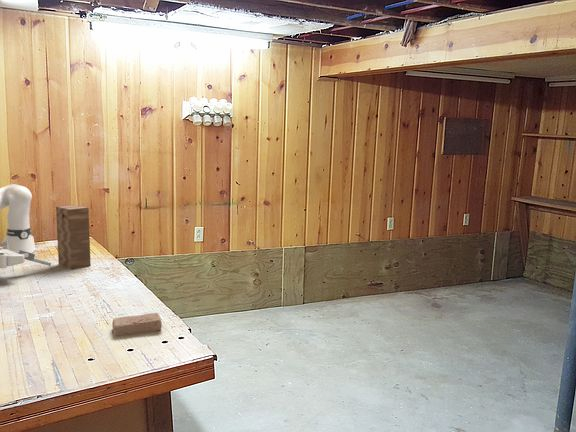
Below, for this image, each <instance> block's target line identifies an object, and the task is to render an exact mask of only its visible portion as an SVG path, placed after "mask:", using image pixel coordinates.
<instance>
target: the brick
mask: <svg viewBox="0 0 576 432" xmlns="http://www.w3.org/2000/svg"><path fill="white" fill-rule="evenodd" d="M111 325H112V333H113V334H112V335H113V337H120V336H127V335H135V334H145V333H153V332H157V331H159V330H161V329H162V326H163V325H162V319H161V316H160V315H159V313H158V312H151V313H143V314H141V315H132V316H121V317H115V318H113V320H112V324H111Z"/></svg>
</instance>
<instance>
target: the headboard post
mask: <svg viewBox="0 0 576 432" xmlns="http://www.w3.org/2000/svg"><path fill="white" fill-rule="evenodd" d="M55 213H56V215H55V216H56V233H57V234H56V235H57V254H58V256H57V257H58V266H61V267H64V268H67V269H70V270H77V269H82V268H88V267H91V264H92V263H91V244H90V243H91V240H90V236H91V235H90V216H89V215H90V214H89V213H90V212H89V207H86V206H81V205H75V204H71V205H69V204H68V205H60V206H55Z"/></svg>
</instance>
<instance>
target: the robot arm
mask: <svg viewBox="0 0 576 432" xmlns="http://www.w3.org/2000/svg"><path fill="white" fill-rule="evenodd" d="M32 199H33V195H32V192H31V191H30V190H29V188H27V187H26V186H23V185H19V184H17V183H16V184H15V183H14V184H13V183H12V184H8V185H6V186H2V187H0V211H1V210H3V209H5V208H7V207H8V213H7V216H6V219H7V229H6V236H5V237H4V239H2V242H0V247H1V248H0V269H7V268H8V267H13V266H17V265H21V264H24V263H25V259H24V258H25V257H28V256H29V255H28V253H23V254H18V253H19V251H20V250H22V251H25V252H29V253H32V254H34V253H35V252H36V251H38V248H37V247H36V246H35V239H34V236H33V235H32V229H31V226H30V223H31V222H30V211H31V204H32V203H31V202H32Z"/></svg>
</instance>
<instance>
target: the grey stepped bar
mask: <svg viewBox="0 0 576 432" xmlns="http://www.w3.org/2000/svg"><path fill="white" fill-rule="evenodd" d="M23 253H28V255H29V256H28V257H25V258H24V260H26V261H31V262H34V263H38V264H41V265H44V266H49V267H51V265H52V263H51V262H48V261H45V260H41V259H38V258H35V257H36V254H34V253H29V252H25V251H22V250H20V251H19V253H18V254H23Z"/></svg>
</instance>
